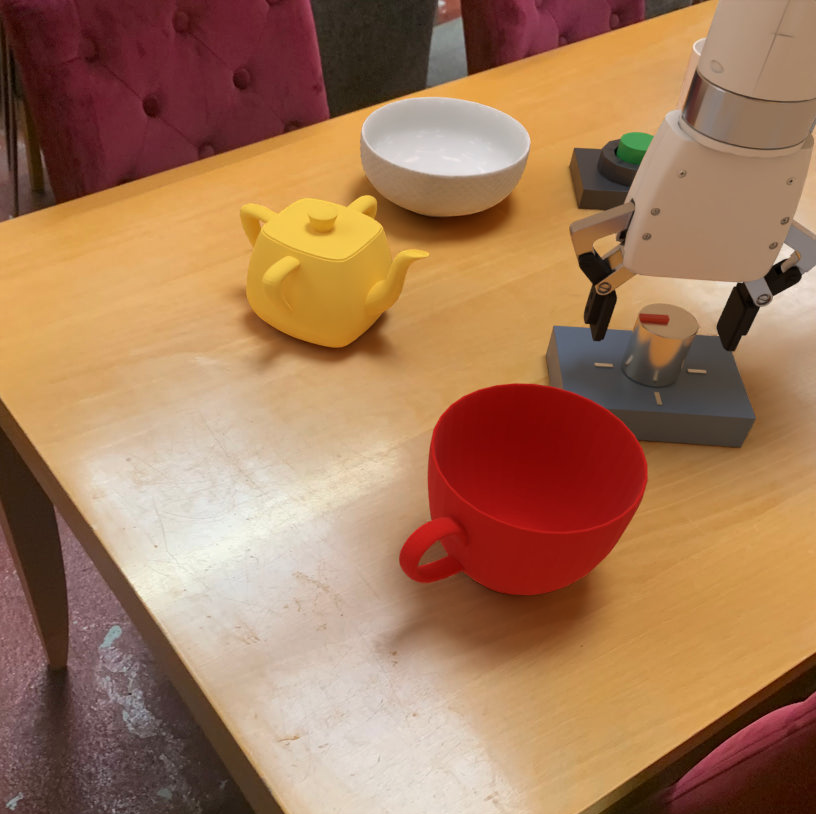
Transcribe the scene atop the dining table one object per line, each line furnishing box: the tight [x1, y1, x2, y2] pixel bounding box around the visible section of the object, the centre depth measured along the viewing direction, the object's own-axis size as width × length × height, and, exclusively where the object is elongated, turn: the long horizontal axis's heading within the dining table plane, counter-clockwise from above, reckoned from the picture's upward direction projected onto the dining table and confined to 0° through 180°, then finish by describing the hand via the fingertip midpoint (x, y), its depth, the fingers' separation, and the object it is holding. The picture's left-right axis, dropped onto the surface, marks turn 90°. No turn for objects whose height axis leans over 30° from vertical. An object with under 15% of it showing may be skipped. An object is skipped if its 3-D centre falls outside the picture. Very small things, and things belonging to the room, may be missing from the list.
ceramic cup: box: [398, 382, 649, 596], centre depth 56 cm, size 13×17×10 cm
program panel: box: [545, 325, 757, 448], centre depth 71 cm, size 14×10×3 cm
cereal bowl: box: [359, 96, 532, 218], centre depth 90 cm, size 17×17×7 cm
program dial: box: [621, 303, 700, 387], centre depth 68 cm, size 4×4×5 cm
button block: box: [568, 138, 640, 211], centre depth 93 cm, size 11×9×4 cm
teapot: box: [239, 194, 430, 349], centre depth 75 cm, size 14×13×10 cm
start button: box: [616, 131, 654, 165], centre depth 91 cm, size 4×4×2 cm
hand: (659, 335), depth 67 cm, fingers open, 9 cm apart
